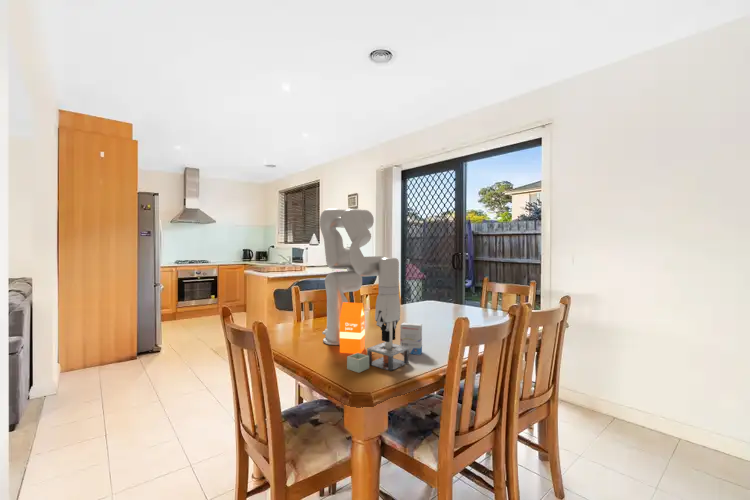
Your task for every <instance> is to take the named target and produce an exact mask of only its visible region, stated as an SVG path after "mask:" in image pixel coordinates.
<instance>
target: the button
mask: <svg viewBox="0 0 750 500" xmlns="http://www.w3.org/2000/svg"><path fill="white" fill-rule="evenodd" d="M382 355H383V354H382ZM382 357H383V362H384V363H388V356H387V355H383V356H382Z"/></svg>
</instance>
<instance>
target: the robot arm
mask: <svg viewBox="0 0 750 500" xmlns="http://www.w3.org/2000/svg"><path fill="white" fill-rule="evenodd" d="M374 221H375V219H374V215H373V213H372V212H371V211H369V210H367V209H358V208H357V209H356V208H347V209H346V208H326V209H324V210H323V211H322V212H321V214H320V218H319V227H320V228H319V229H320V232H321V234H322V238H323V243H324V254H325V255H324V256H325V263H326V266H327V267H328V268H329V269H334V270H339V269H340V270H341V269H346V271H345V270H344V271H343V270H342V271H332V272H330V273H328V274H327V275H326V276H325V278H324V286H325V287H324V288H325V294H326V328H325V329H324V331H322V335H325V337H324V338H323V343H324V344H326V345H330V346H340V315H341V310H342V305H343V302H346V303H349V301H348V298H347V297H346V296H345V293H350V292H351V293H352V292H357V291H359V290H361V288H362V286H363V277H377V276H378V294H377V296H376V301H375V308H374V309H375V310H374V311H375V312H374V319H375V321H376V323H375V325H376V326H377V327H378V328H380V330H381V341H382V342H389V341H390V331H388V329H389V322H392V321H393V339H392V341H395V340H396V330H397V324H398V323H399V321H401V300H400V294H399V293H400V292H399V291H400V287H399V286H400V271H399V270H400V262H399V261H400V260H399V258H397V257H386V256H384V255H383V256H382V255H381V256H364V253H362V250H361V248H362V247H364V246H366V245H367V244H368V243H369V242H370V241H371V239H372V233H371V231H370V230H369V229H371V228H372V227H373V226H374V223H375V222H374ZM337 228H343V229H344V230H345V232H346V233H347V235H348V237H349V239H350V241H351V244H350V246H349V247H344V241H343V235H341V233H340V232H339V231H338V229H337ZM385 324H386V326H385Z"/></svg>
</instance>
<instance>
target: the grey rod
mask: <svg viewBox="0 0 750 500" xmlns="http://www.w3.org/2000/svg"><path fill="white" fill-rule="evenodd" d="M384 325H385V326H386V324H384ZM388 331H390V341H389V342H385V341H384V342H385V350H392V349H393V348H392V343H393V340H392V339H393V321H392V322H389V329H388Z"/></svg>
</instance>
